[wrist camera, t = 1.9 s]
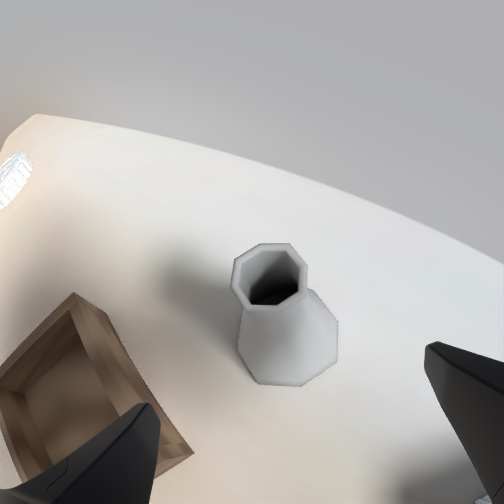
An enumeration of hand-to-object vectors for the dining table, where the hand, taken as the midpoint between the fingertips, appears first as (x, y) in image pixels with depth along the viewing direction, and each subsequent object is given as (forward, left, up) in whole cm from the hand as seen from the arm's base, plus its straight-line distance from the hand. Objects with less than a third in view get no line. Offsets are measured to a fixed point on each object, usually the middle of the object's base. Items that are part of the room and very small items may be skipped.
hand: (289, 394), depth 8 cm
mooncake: (+13, +56, -12) cm, 59 cm away
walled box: (-8, +15, -11) cm, 21 cm away
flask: (+4, +2, -12) cm, 13 cm away
